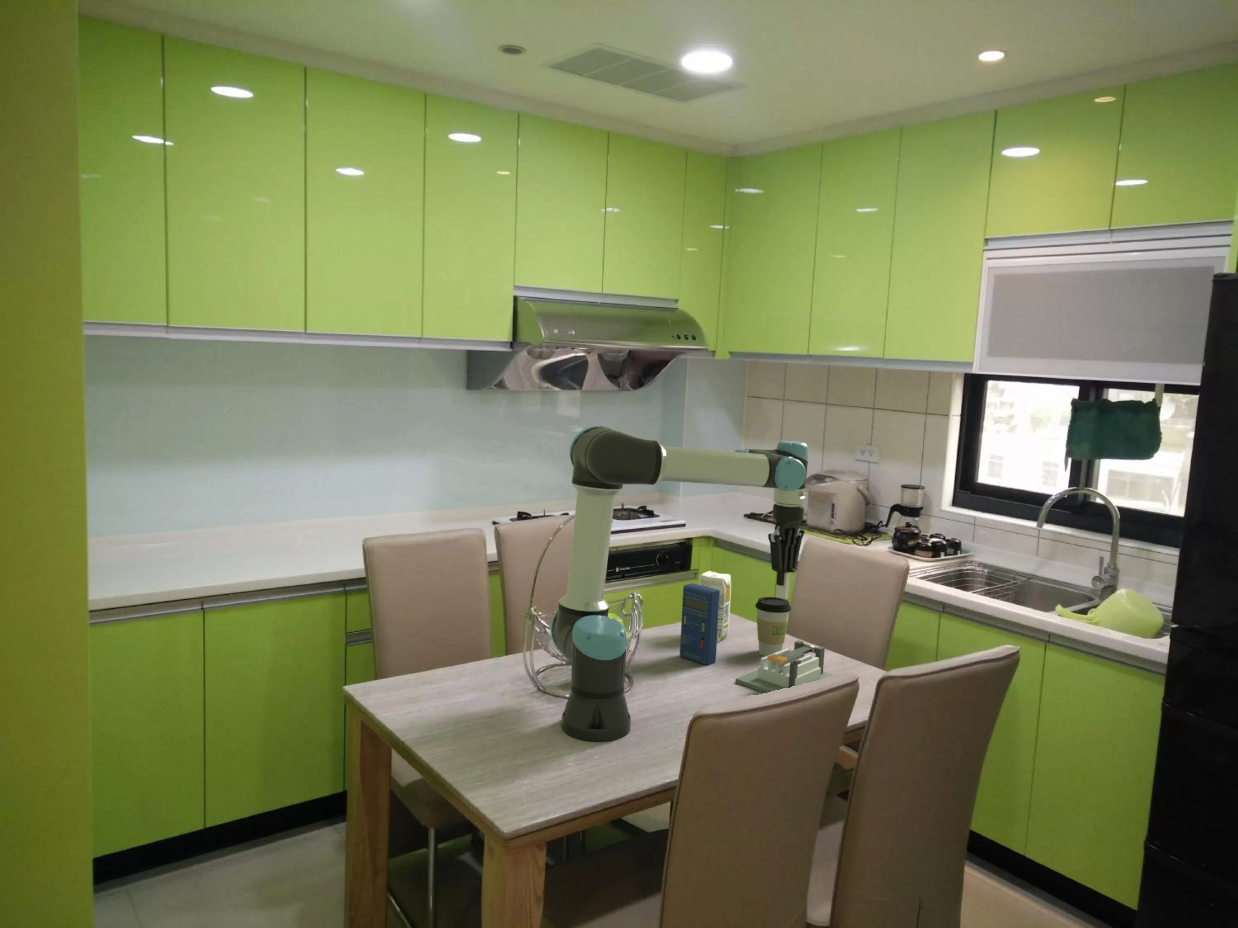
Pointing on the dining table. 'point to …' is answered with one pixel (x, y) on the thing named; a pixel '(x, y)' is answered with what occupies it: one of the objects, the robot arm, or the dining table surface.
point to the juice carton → (724, 586)
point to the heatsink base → (786, 671)
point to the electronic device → (699, 623)
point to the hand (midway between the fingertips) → (781, 597)
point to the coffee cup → (772, 624)
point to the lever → (791, 654)
